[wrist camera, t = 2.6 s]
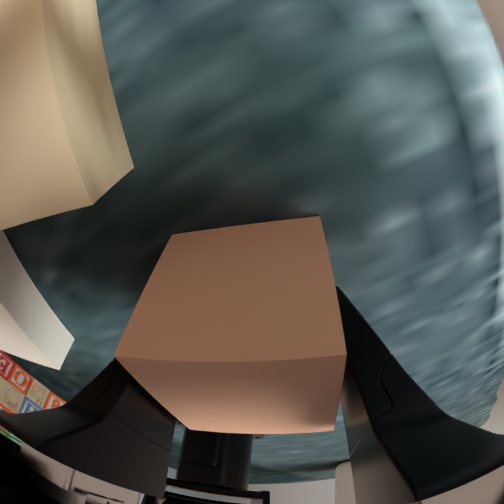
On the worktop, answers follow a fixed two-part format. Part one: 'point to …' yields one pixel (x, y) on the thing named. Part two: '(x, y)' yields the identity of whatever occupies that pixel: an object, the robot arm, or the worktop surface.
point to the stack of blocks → (22, 392)
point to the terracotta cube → (241, 330)
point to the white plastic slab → (28, 316)
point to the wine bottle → (344, 484)
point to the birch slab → (55, 111)
